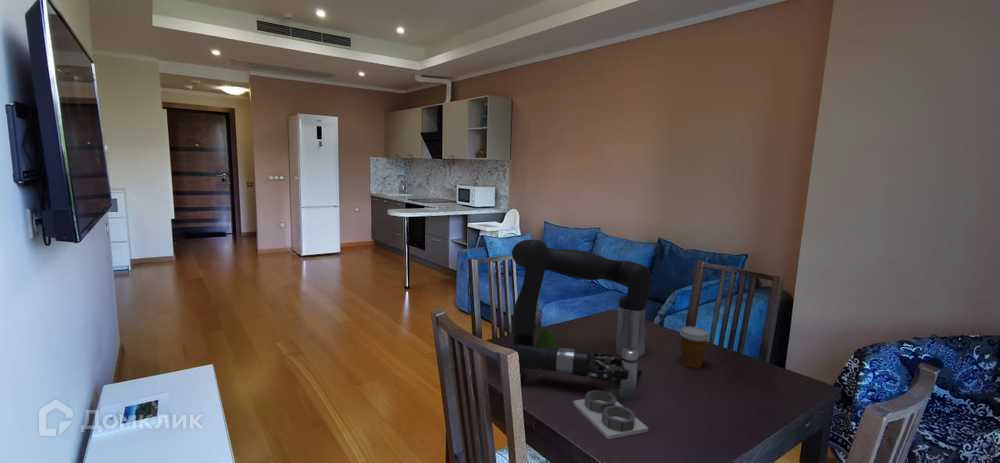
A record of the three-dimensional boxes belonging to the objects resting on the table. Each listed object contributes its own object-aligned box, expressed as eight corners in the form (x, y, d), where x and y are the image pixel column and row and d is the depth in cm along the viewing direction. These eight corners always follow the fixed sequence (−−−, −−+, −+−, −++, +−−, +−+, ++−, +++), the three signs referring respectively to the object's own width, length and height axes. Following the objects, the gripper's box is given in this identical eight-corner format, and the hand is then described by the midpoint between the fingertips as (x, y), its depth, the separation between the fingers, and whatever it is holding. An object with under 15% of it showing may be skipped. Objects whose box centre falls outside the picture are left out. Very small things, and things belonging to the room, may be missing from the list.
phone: (608, 383, 146) (620, 365, 159) (607, 387, 146) (620, 369, 159) (633, 390, 142) (644, 371, 155) (633, 393, 142) (644, 374, 155)
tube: (629, 391, 143) (632, 346, 141) (638, 398, 139) (641, 352, 137) (616, 393, 141) (619, 348, 139) (625, 400, 137) (628, 354, 135)
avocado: (557, 359, 164) (558, 326, 162) (557, 369, 156) (559, 334, 155) (534, 358, 165) (535, 324, 163) (533, 367, 157) (534, 333, 155)
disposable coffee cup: (676, 366, 161) (679, 333, 160) (677, 356, 170) (680, 324, 168) (706, 372, 158) (710, 337, 156) (706, 361, 167) (709, 328, 165)
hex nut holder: (609, 398, 138) (610, 386, 138) (648, 431, 121) (649, 419, 121) (572, 404, 134) (573, 392, 134) (607, 439, 117) (608, 426, 117)
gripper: (570, 359, 136) (629, 367, 132) (576, 341, 150) (629, 348, 145) (569, 384, 137) (627, 392, 133) (575, 364, 151) (627, 371, 146)
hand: (628, 369), depth 139 cm, fingers open, 8 cm apart
